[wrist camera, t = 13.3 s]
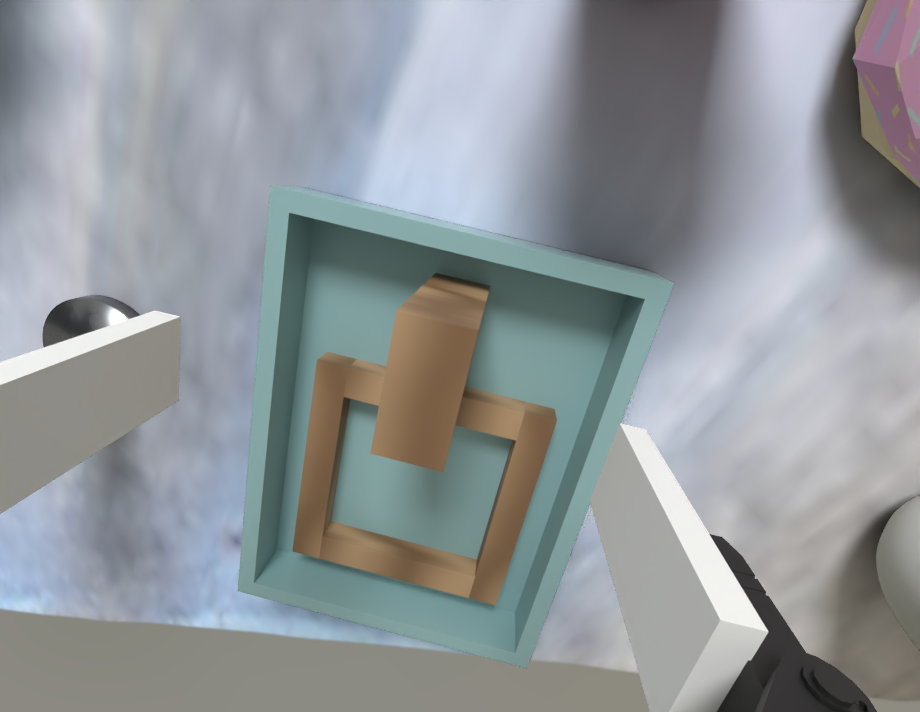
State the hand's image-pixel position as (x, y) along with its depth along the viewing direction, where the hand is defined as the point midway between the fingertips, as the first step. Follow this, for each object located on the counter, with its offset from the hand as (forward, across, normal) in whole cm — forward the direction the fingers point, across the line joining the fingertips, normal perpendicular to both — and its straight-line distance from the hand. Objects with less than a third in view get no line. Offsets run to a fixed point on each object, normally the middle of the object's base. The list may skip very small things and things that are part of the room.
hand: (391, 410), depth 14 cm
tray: (+13, +1, -8) cm, 16 cm away
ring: (+13, +1, -8) cm, 15 cm away
